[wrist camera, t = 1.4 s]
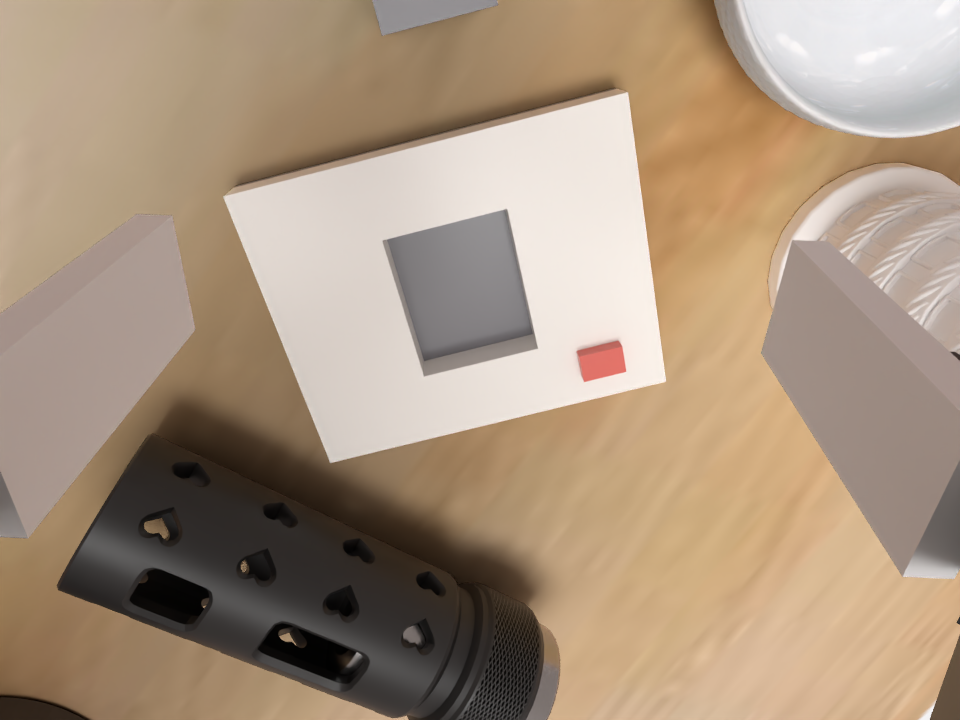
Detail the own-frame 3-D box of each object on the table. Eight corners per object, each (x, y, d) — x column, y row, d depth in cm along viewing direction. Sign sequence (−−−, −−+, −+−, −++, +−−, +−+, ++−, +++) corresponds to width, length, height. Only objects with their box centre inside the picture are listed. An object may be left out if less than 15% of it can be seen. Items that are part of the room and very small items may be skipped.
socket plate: (335, 440, 43) (328, 470, 40) (235, 185, 36) (218, 200, 33) (652, 362, 42) (670, 388, 39) (614, 87, 35) (632, 93, 32)
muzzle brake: (176, 391, 41) (103, 499, 32) (552, 578, 49) (582, 706, 40) (111, 504, 44) (28, 633, 35) (476, 661, 52) (488, 799, 43)
